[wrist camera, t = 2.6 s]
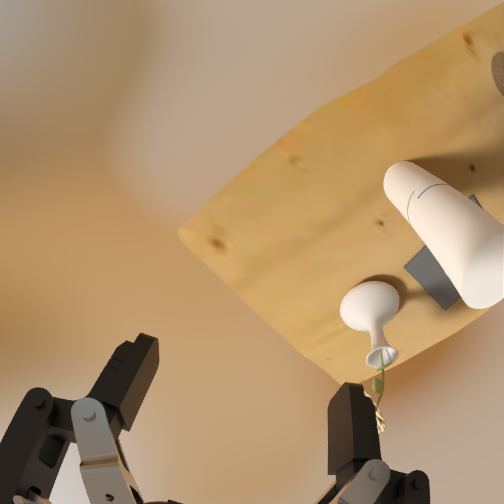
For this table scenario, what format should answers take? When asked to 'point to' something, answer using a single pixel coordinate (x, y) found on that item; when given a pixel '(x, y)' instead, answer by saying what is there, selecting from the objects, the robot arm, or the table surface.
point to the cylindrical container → (452, 231)
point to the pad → (433, 276)
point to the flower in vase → (373, 327)
